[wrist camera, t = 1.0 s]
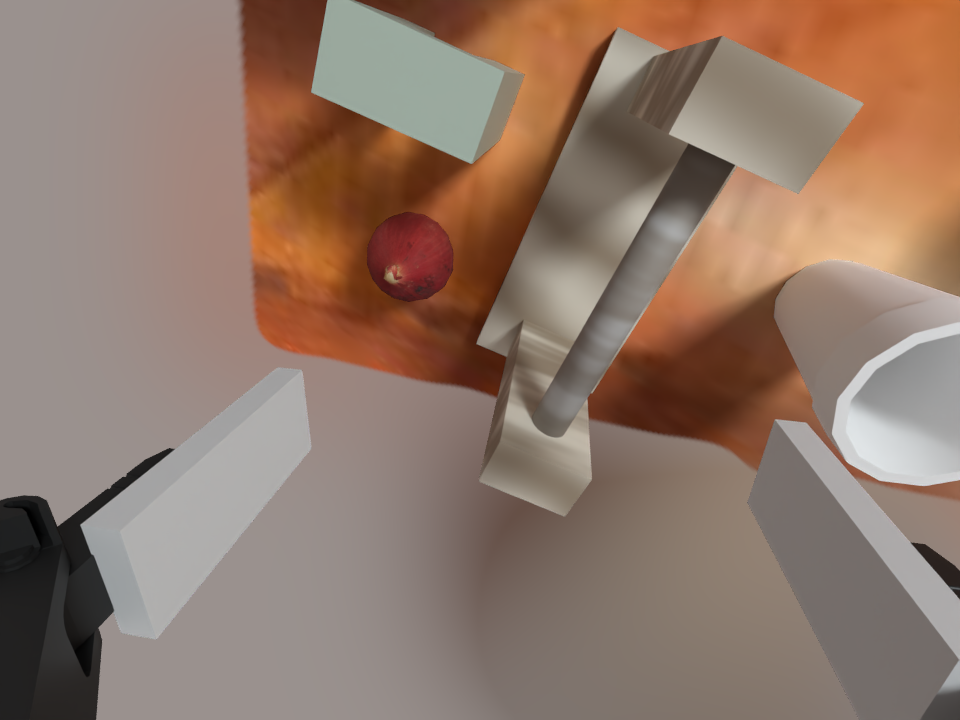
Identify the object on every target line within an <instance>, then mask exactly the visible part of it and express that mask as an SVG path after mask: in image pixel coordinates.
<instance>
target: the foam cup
mask: <svg viewBox="0 0 960 720" xmlns="http://www.w3.org/2000/svg"><path fill="white" fill-rule="evenodd" d="M774 319H775V320H776V324H777V326H778V328H779V330H780V332H781V334H782V336H783V338H784V340H785V342H786V344H787V347H788V349H789V351H790V353H791V355H792V357H793V359H794V361H795V363H796V365H797V367H798V370H799V372H800V374H801V376H802V378H803V380H804V382H805V384H806V386H807V388H808V390H809V393H810V395H811V397H812V399H813V404H812V408H813V410H814V412H815V414H816V416H817V418H818V419H819V421H820V423H821V425H822V427H823V429H824V431H825V432H826V434H827V436H828V437H829V438H830V440H831V441H832V443H833V444H834V445H835V447H836V448H837V449H838V451H839V452H840V454H841V455H842V456H843V458H844V459H845V460H846V462H847V463H849V464H851V465H852V466H854V467H856V468H858V469H860V470H861V471H863V472H865V473H867V474H869V475H870V476H872V477H874V478H876V479H877V480H879V481H887V482H895V483H903V484H912V485H920V486H927V485H933V484H939V483H945V482H951V481H957V480H960V297H958V296H955V295H952V294H949V293H946V292H944V291H941V290H938V289H935V288H932V287H929V286H926V285H923V284H920V283H917V282H914V281H911V280H908V279H905V278H902V277H899V276H896V275H893V274H891V273H888V272H885V271H882V270H879V269H876V268H873V267H870V266H867V265H864V264H861V263H857V262H854V261H847V260H833V259H829V260H826V261H822V262H819V263H816V264H813V265H809V266H806V267H805V268H803V269H802V270H801V271H799V272H798V273H797V274H795V275H794V276H793V277H791V278H790V279H789V280H787V281H786V283H785V285H784V286H783V288H782V289H781V291H780V293H779V294H778V296H777V297H776V299H775V309H774Z"/></svg>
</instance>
